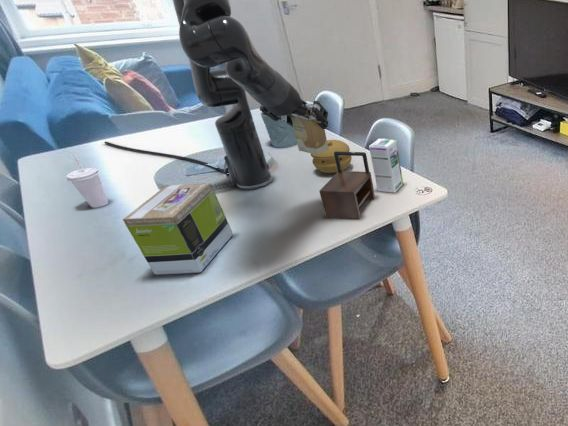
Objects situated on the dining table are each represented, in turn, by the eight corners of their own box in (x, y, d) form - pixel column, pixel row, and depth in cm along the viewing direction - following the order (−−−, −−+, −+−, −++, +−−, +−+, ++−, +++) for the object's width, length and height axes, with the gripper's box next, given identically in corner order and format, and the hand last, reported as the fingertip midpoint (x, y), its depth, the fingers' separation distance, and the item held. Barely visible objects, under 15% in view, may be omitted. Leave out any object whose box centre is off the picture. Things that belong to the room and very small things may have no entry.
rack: (326, 217, 112) (313, 169, 105) (344, 195, 122) (334, 150, 115) (359, 219, 111) (348, 170, 104) (375, 197, 122) (366, 151, 114)
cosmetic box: (298, 151, 109) (285, 104, 103) (311, 145, 112) (299, 99, 106) (317, 155, 107) (306, 107, 101) (330, 149, 110) (319, 102, 104)
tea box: (191, 237, 104) (166, 183, 96) (234, 235, 105) (213, 181, 97) (152, 276, 91) (119, 217, 83) (201, 273, 92) (173, 215, 84)
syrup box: (395, 193, 124) (388, 146, 116) (376, 191, 125) (368, 144, 117) (403, 184, 128) (397, 139, 121) (385, 182, 129) (377, 137, 122)
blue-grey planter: (270, 150, 151) (260, 117, 145) (269, 140, 159) (260, 109, 153) (301, 145, 155) (292, 113, 149) (299, 136, 163) (291, 105, 157)
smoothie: (120, 200, 119) (95, 154, 112) (94, 211, 114) (66, 164, 107) (104, 197, 121) (79, 151, 114) (78, 208, 116) (50, 160, 109)
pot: (328, 181, 130) (321, 150, 125) (307, 171, 136) (299, 141, 131) (361, 168, 138) (355, 139, 133) (340, 159, 144) (333, 131, 139)
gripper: (307, 76, 92) (340, 112, 108) (243, 74, 93) (286, 111, 109) (301, 107, 90) (336, 139, 106) (236, 105, 91) (281, 138, 107)
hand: (311, 125), depth 107 cm, fingers closed on cosmetic box, 7 cm apart
